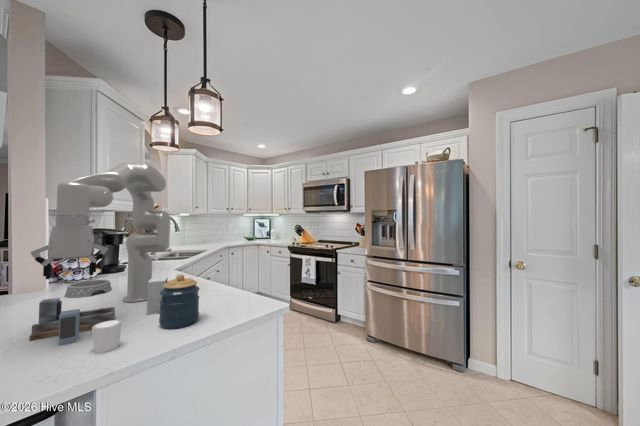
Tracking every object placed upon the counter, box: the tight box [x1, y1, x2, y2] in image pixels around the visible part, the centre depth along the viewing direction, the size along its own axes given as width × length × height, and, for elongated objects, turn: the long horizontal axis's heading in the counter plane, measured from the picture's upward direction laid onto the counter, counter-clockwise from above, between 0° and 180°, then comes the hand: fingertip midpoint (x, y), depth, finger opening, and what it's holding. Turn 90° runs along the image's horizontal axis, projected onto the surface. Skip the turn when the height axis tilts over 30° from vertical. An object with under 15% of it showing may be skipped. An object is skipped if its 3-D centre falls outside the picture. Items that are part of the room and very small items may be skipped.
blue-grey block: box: [57, 308, 81, 346], centre depth 79 cm, size 5×4×9 cm
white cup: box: [91, 319, 123, 354], centre depth 75 cm, size 7×7×7 cm
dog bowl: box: [64, 279, 113, 299], centre depth 131 cm, size 17×18×5 cm
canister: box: [158, 273, 200, 330], centre depth 94 cm, size 13×13×18 cm
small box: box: [146, 276, 168, 315], centre depth 106 cm, size 8×6×13 cm
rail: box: [28, 297, 116, 342], centre depth 90 cm, size 20×12×10 cm, turn 126°
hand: (70, 276), depth 79 cm, fingers open, 9 cm apart
